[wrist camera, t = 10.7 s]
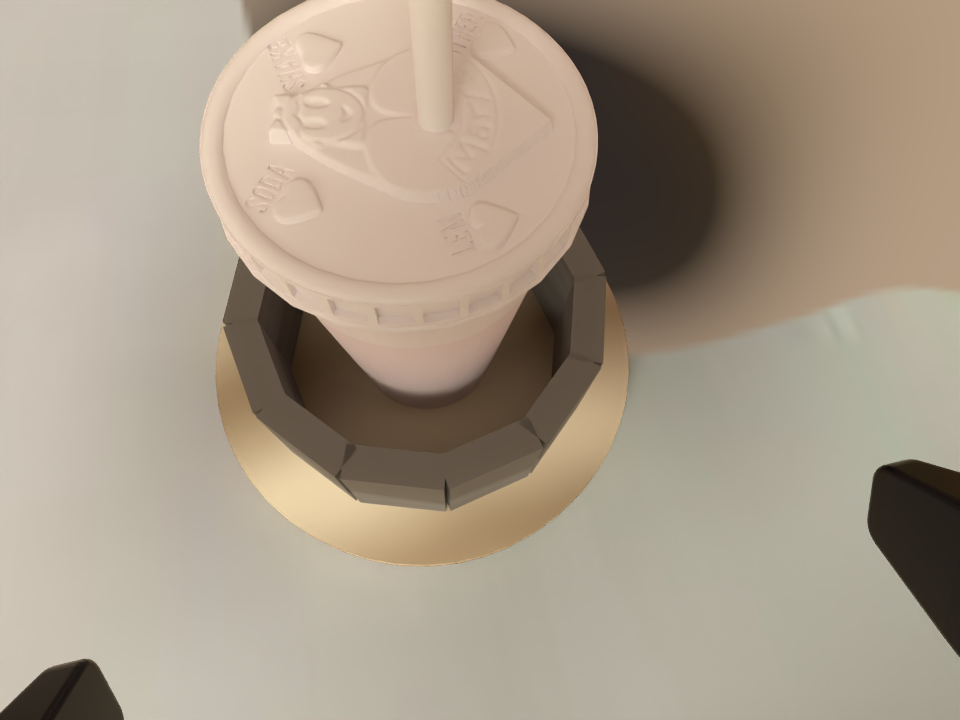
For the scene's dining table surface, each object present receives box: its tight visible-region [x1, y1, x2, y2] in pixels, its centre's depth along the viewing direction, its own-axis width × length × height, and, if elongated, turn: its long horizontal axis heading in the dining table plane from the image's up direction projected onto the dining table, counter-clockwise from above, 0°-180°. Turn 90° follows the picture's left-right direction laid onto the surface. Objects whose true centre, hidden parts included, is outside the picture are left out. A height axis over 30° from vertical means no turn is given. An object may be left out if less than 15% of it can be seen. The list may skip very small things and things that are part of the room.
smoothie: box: [200, 0, 598, 409], centre depth 13 cm, size 6×6×14 cm
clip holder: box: [216, 226, 629, 567], centre depth 18 cm, size 12×12×4 cm
